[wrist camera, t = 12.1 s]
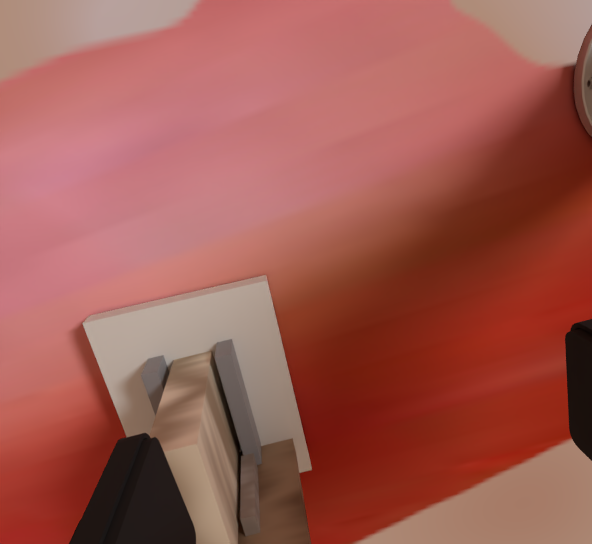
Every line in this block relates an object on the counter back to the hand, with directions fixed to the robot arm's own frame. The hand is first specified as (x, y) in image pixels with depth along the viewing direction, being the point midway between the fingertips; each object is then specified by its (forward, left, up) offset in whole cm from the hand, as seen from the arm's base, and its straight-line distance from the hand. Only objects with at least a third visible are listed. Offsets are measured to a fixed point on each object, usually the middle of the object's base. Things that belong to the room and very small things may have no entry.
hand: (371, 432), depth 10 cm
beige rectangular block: (+9, +13, -23) cm, 28 cm away
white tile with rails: (+9, +13, -25) cm, 29 cm away
